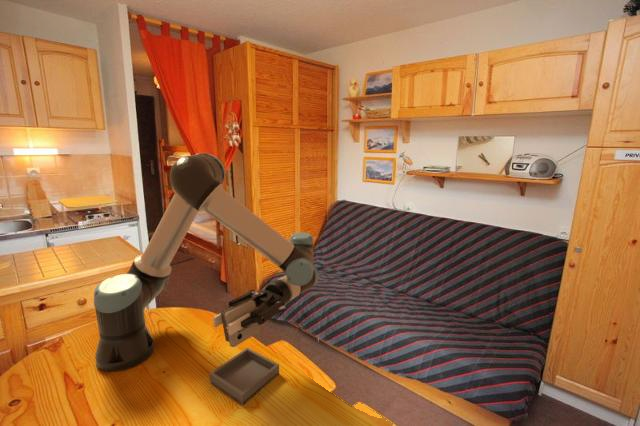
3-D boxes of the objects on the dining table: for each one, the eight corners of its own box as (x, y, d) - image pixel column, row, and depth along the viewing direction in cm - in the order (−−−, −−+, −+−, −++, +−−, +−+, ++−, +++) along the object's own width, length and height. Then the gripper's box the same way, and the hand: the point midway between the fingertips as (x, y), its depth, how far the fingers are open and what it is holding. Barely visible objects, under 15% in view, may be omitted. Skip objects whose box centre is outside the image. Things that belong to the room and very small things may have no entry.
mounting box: (210, 383, 88) (209, 373, 87) (247, 356, 99) (247, 347, 98) (242, 405, 81) (242, 395, 80) (279, 373, 92) (279, 364, 91)
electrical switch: (232, 349, 83) (230, 316, 80) (219, 341, 86) (217, 309, 83) (260, 332, 90) (259, 301, 88) (247, 325, 93) (246, 295, 91)
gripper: (305, 310, 97) (247, 352, 78) (261, 293, 107) (200, 327, 88) (306, 287, 95) (246, 324, 76) (260, 272, 105) (198, 301, 86)
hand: (221, 325), depth 82 cm, fingers closed on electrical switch, 5 cm apart
